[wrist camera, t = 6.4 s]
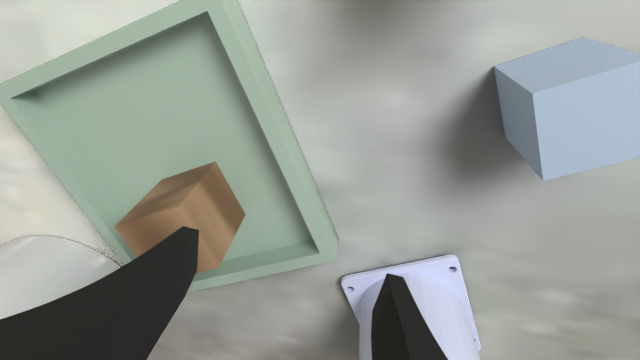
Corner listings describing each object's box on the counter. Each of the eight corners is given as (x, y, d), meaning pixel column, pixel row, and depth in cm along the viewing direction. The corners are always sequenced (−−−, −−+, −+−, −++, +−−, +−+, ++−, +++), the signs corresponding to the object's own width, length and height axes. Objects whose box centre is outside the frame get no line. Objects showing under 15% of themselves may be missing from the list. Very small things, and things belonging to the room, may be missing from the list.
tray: (338, 238, 25) (336, 260, 23) (166, 278, 28) (151, 300, 26) (230, -17, 18) (214, -16, 16) (22, 79, 22) (-12, 89, 20)
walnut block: (215, 161, 22) (178, 206, 18) (245, 214, 24) (218, 267, 19) (161, 179, 23) (113, 226, 19) (193, 229, 25) (157, 282, 20)
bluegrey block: (587, 113, 19) (651, 154, 15) (505, 136, 20) (543, 180, 16) (582, 36, 18) (653, 56, 13) (493, 66, 19) (532, 93, 14)
